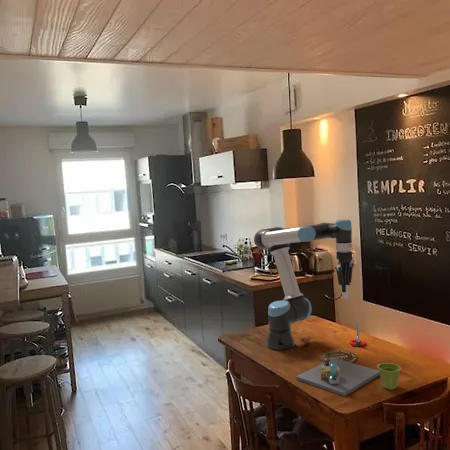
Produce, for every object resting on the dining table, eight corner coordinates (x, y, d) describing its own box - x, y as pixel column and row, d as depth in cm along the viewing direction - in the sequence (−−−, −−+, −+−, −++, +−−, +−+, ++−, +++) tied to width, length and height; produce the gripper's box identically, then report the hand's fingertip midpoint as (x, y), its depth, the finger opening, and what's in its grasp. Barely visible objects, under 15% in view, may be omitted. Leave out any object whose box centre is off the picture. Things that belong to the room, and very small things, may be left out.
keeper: (318, 376, 211) (318, 366, 211) (337, 374, 212) (337, 365, 211) (321, 380, 206) (321, 371, 206) (340, 379, 207) (340, 370, 206)
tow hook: (348, 341, 259) (350, 346, 250) (347, 318, 259) (349, 322, 249) (364, 341, 258) (366, 346, 249) (363, 318, 257) (366, 322, 248)
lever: (320, 366, 221) (320, 350, 220) (331, 366, 221) (330, 349, 220) (328, 384, 202) (328, 366, 201) (340, 383, 202) (340, 365, 201)
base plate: (296, 379, 213) (296, 376, 212) (333, 360, 232) (333, 357, 232) (344, 396, 194) (344, 392, 194) (380, 374, 214) (380, 371, 214)
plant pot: (374, 382, 205) (373, 363, 205) (395, 381, 206) (394, 361, 205) (383, 392, 196) (382, 372, 195) (405, 390, 197) (404, 370, 196)
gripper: (343, 253, 226) (344, 301, 228) (358, 249, 235) (359, 296, 237) (330, 252, 232) (331, 299, 234) (345, 248, 240) (346, 294, 243)
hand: (345, 298), depth 235 cm, fingers closed
